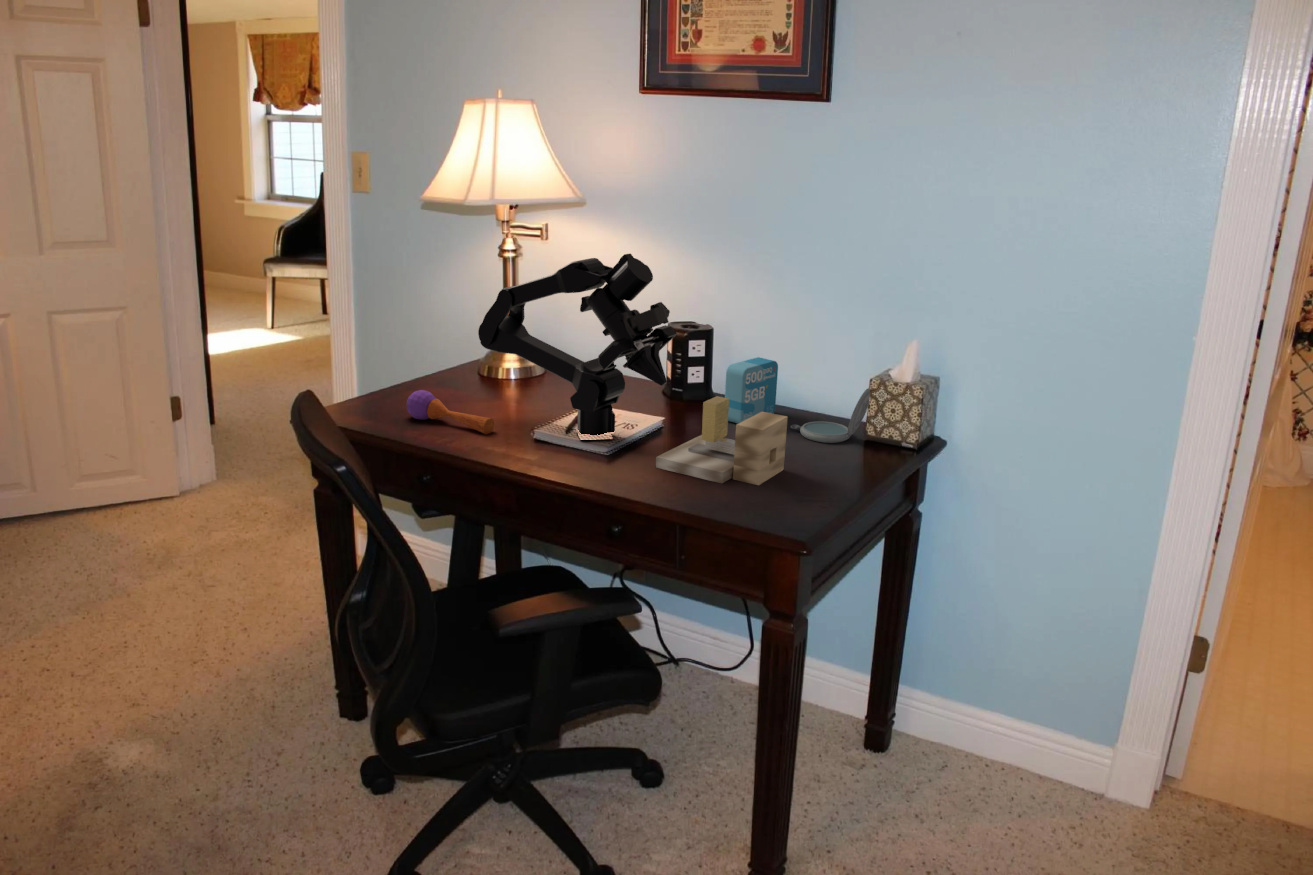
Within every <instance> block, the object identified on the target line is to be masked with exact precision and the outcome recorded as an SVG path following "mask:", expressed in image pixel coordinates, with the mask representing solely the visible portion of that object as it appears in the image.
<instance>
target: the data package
mask: <svg viewBox="0 0 1313 875" xmlns="http://www.w3.org/2000/svg"><path fill="white" fill-rule="evenodd" d="M778 372H779V364H778V362H777V361H776V360H773V359H769V358H768V359H767V358H763V357H760V356H757V357H754V358H749V359H746V360H742V361H737V362H735V363H730V364H729V365H728V367H727V369H726V372H725V385H724V386H725V388H724V389H725V391H724V398H729V412H728V422H730V423H735V424H739V423H740V422H742V421H744V420H746V419H748V418H750V417H752V416H754V415H756V414H758V413H760V412H767V413H772V414H775V411H776V403H777V402H776V401H777V387H778V386H777V385H778V375H779V374H778Z"/></svg>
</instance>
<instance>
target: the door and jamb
mask: <svg viewBox="0 0 1313 875" xmlns="http://www.w3.org/2000/svg"><path fill="white" fill-rule="evenodd" d="M788 418H789V417H788V416H787V415H782V414H776V413H773V414H772V413H767V412H760V413H758V414H756V415H754V416H752V417H750V418H748V419H746V420H744V421H742V422H740V423H739V424H738V423H736V424H735V435H734V436H735V439H734V440H735V453H734V455H733V454H728V453H724V452H719V451H715V450H711V449H706V448H705V440H702V434H700V435H698V436H696V437H694V438H692V439H690V440H688V441H686V442H683V443H682V444H680V445H678V446H676V447H673V448H671V449H670V450H667V451H666V452H664V453H662V454H660V455H657V456H656V457H655V468H656V469H661V470H664V471H669V472H673V473H677V474H681V475H685V476H690V477H694V478H698V479H702V480H706V481H709V482H713V483H714V482H715V483H718V484H723V483H725V482H727V481H729V480H731V479H732V480H735V481H738V482H742V483H747V484H750V485H751V484H752V485H755V486H760V485H762V484H763V483H765V482H766V481H768V480H770V479H771V478H773V477H775V476H776V475H777V474H779V473H781V472H782V471H783V470H784V469H785V459H786V458H785V457H786V456H785V455H786V445H787V444H786V443H787V441H786V440H787V431H788V430H787V428H788Z"/></svg>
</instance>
